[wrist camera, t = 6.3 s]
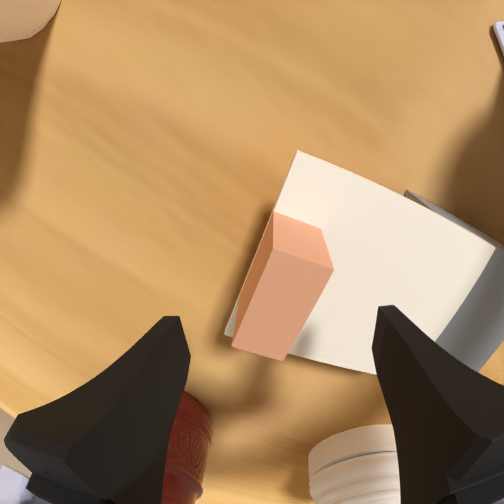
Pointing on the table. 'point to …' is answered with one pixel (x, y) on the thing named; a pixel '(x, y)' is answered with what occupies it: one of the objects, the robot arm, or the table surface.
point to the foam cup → (24, 17)
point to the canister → (187, 453)
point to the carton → (475, 304)
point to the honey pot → (355, 467)
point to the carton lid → (349, 268)
